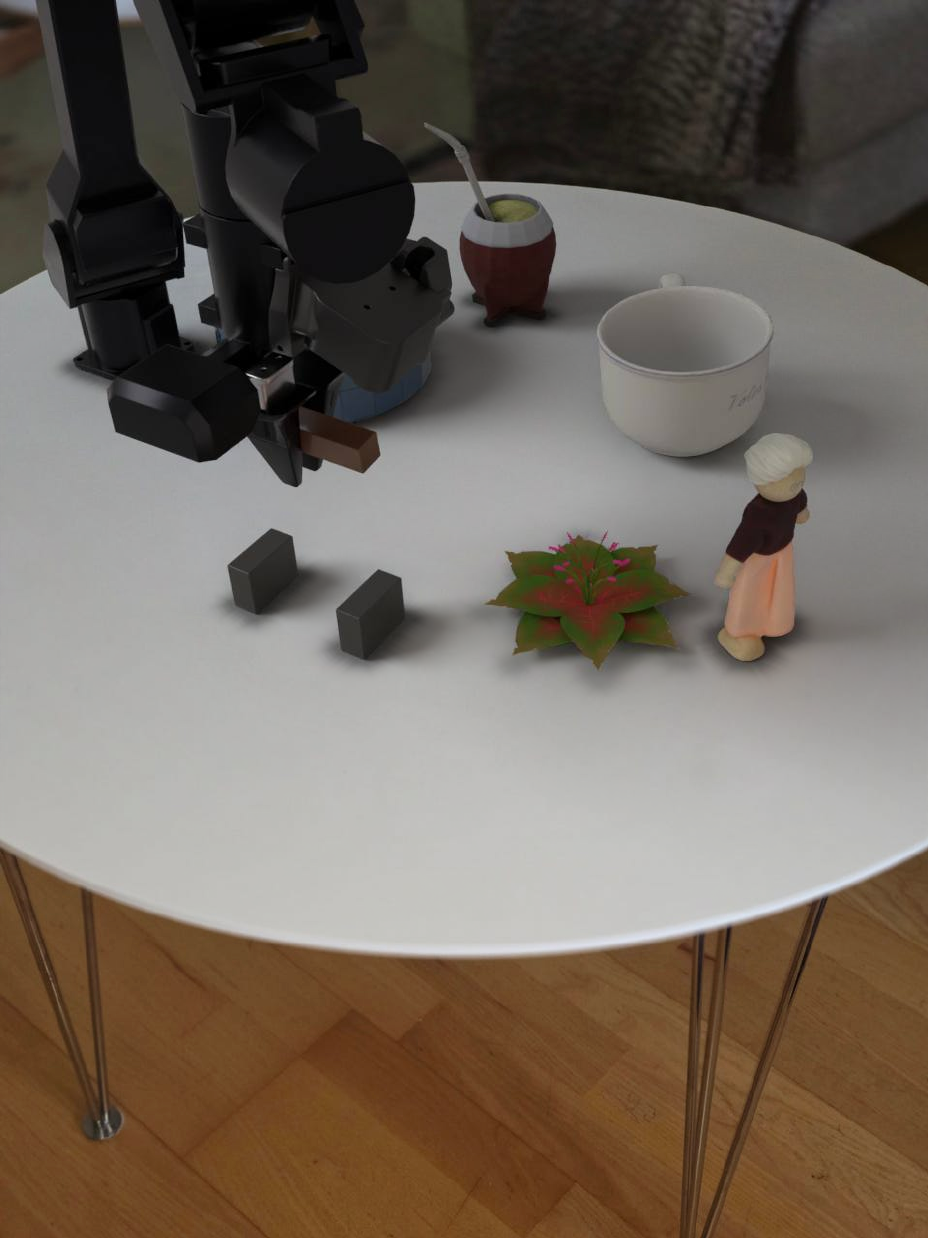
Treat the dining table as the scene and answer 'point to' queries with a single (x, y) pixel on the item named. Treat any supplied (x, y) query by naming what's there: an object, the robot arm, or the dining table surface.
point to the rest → (357, 617)
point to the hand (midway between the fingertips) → (301, 476)
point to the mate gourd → (505, 248)
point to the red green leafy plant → (588, 597)
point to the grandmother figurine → (765, 547)
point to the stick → (337, 440)
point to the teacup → (684, 366)
